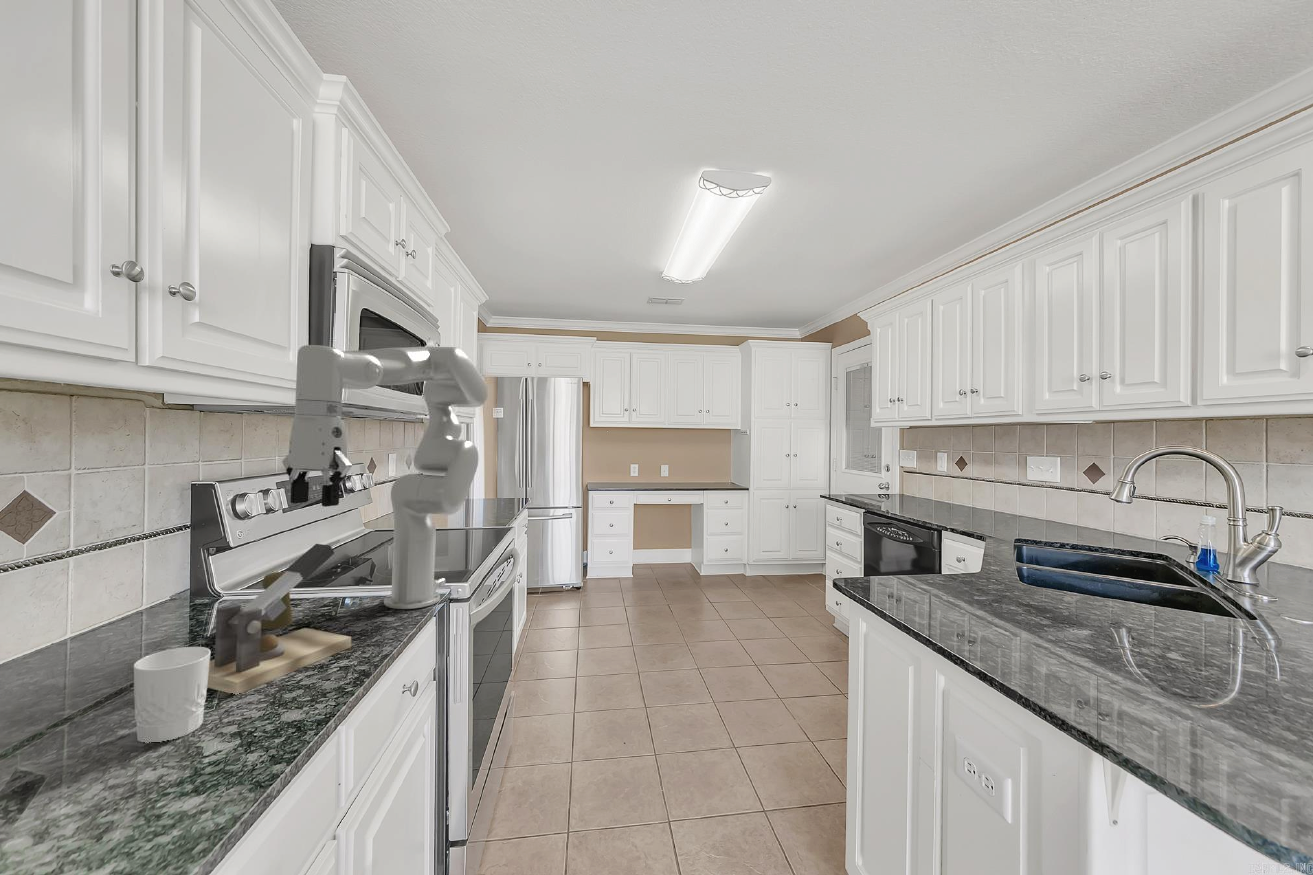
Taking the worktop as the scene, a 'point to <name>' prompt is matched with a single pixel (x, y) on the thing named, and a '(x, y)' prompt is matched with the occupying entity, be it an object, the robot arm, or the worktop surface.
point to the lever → (287, 583)
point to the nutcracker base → (263, 651)
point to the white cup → (170, 693)
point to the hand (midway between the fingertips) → (314, 503)
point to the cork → (286, 615)
